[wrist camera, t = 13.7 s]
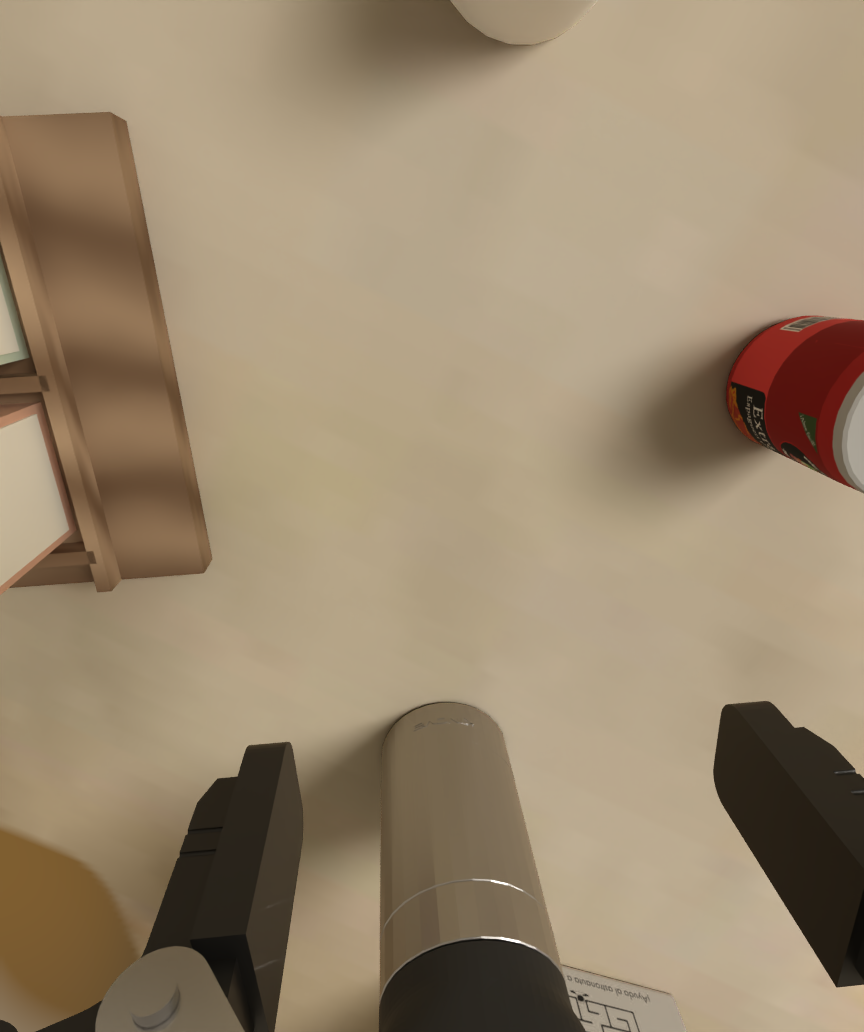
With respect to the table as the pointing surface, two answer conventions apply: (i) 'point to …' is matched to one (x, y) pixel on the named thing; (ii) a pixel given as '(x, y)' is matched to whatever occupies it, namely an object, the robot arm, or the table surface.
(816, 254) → the table surface
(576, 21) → the white upright block
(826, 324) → the canned food
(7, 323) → the sage tea box
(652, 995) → the cereal box
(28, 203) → the display rack
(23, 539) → the terracotta tea box
